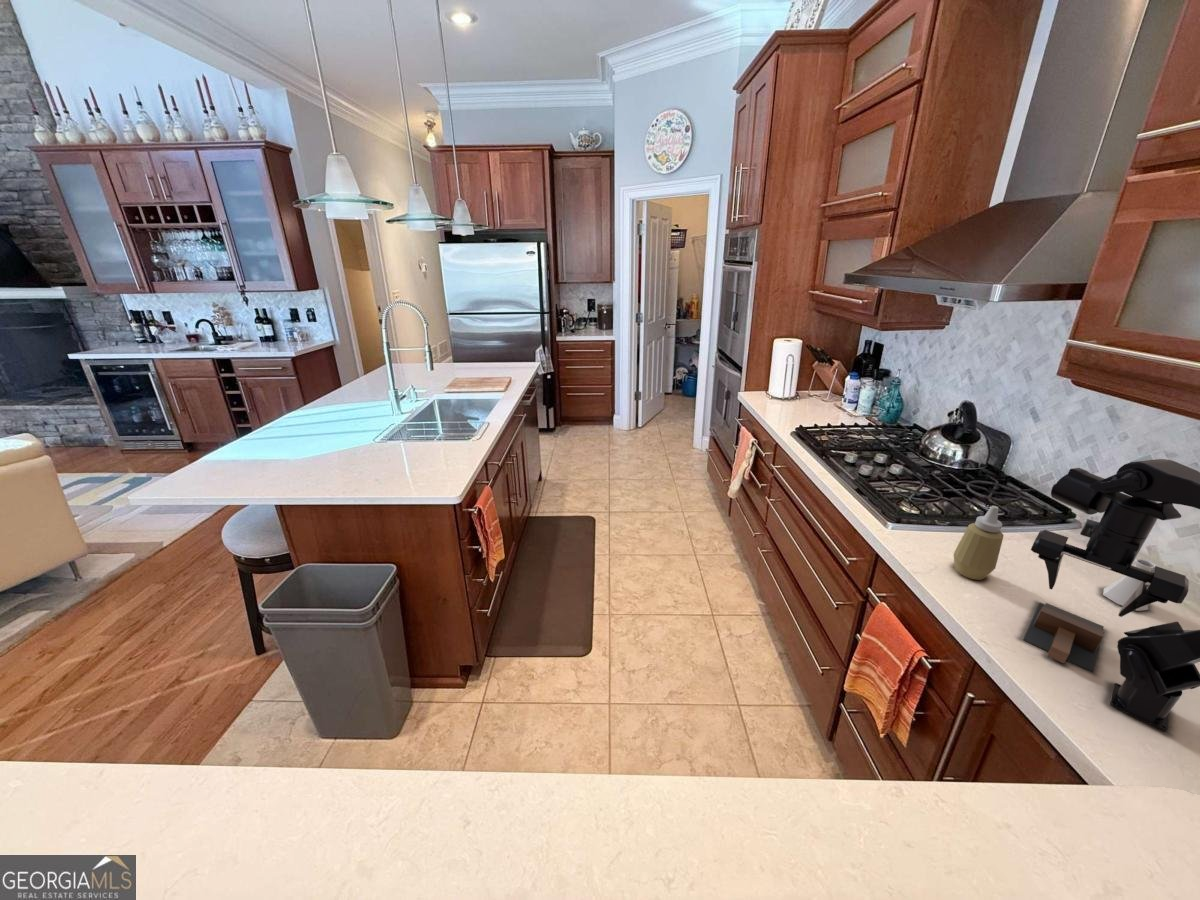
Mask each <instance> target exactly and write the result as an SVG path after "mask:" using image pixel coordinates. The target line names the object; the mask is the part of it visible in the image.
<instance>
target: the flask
mask: <svg viewBox="0 0 1200 900" xmlns="http://www.w3.org/2000/svg"><path fill="white" fill-rule="evenodd" d="M1133 566H1134V567H1137V568H1140V569H1143V570H1146V571H1149V572H1151V571H1152V569H1153V568H1154V567H1155V566H1157V567H1158V565H1157V564H1156V563H1154V562H1152V561H1150V560H1147V559H1143V558H1135V560H1134V565H1133ZM1141 582H1142V581H1140V580H1137V579H1134V578H1131V577H1128V576H1125V575H1122V576H1121V577H1120V578H1118V579H1117V580H1116V581H1114V582H1112V583H1111V584H1109V585H1108V586H1106V587H1104V588H1103V594H1102V595H1103V596H1104V597H1106V598H1107V599H1109V600H1110V601H1111V602H1114V603H1115V604H1117V605H1119V606H1123V605H1124V604H1125V603H1126V602H1127V600H1128V599H1129V598H1130V597H1131V596H1132V594H1133V593H1134V592H1135V591H1136V590H1137V588H1138V587H1139V585H1140V584H1141ZM1148 610H1149V604H1148V605H1145V606H1142V607H1140V608H1138V609H1136V610H1135V611H1137V612H1138V611H1139V612H1140V611H1148Z"/></svg>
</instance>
